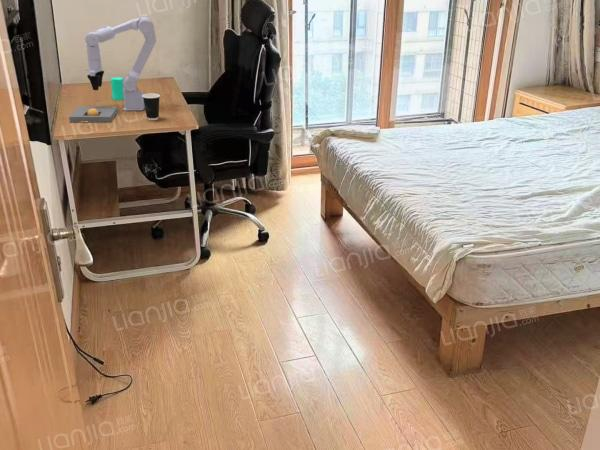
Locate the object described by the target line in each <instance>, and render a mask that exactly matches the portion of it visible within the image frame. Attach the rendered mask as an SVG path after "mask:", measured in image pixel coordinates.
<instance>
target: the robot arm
mask: <svg viewBox="0 0 600 450" xmlns="http://www.w3.org/2000/svg"><path fill="white" fill-rule="evenodd" d="M129 30H130V31H131V30H133V31H138V30H139V31H140V32H141V34H143V37H144V43H143V44H142V46H141V48H140V50H139V53H138V55H137V56H136V59H135V60H134V63H133V65H132V66H131V69H130V70H129V73H127V75H125V76H124V77H123V87H124V89H123V94H124V99H123V102H124V107H123V108H122V111H144V109H145V105H144V100H143V97H142V95H144V94H145V93H144V91H143V90H139V88H138V86H137V85H138V81H139V78H140V76H141V74H142V71H143V69H144V67H145V65H146V64H147V61H148V59H149V57H150V55H151V53H152V51H153V49H154V47H155V45H156V42H157V39H156V38H157V37H156V32H155V31H156V30H155V25H154V23H153V21H152V19H151V18H150V17H149V16H142V17H138V18H133V19H130V20H128V21H126V22H123V23H121V24H118V25H116V26H113V27H111V26H109V25H103V26H102V28H99V29H97V30H96V29H93V31H90V32H88V33H87V34H86V35H85V38H84V40H85V43H86V55H87V62H88V67H87V68H86V71H88V72H89V74H87V79H88V80H89V82H90V84H91V87H92V91H99V88H100V87H102V85H103V77H104V74H105V71H104V70H103V67H102V60H101V59H102V58H101V49H100V45H99V44H100V43H101V44H103V43H105V42H107V41H111V40H114V38H115V37H116V35H118V34H121V33H124V32H127V31H129Z"/></svg>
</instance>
